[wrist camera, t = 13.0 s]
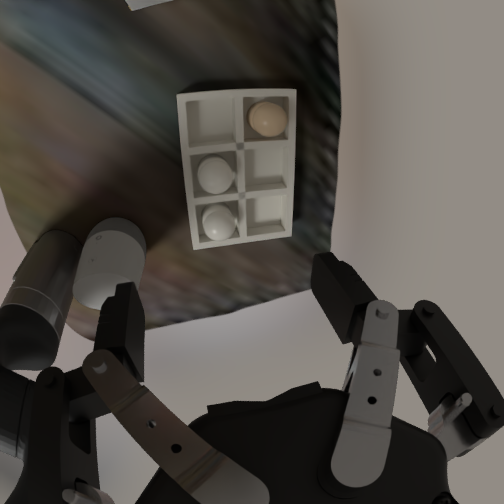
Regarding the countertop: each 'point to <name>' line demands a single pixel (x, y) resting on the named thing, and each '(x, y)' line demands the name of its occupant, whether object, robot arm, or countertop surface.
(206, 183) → the white egg middle
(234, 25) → the countertop surface
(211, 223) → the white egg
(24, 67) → the countertop surface
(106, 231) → the smart speaker
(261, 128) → the tan egg
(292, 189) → the egg carton
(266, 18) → the countertop surface
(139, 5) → the medicine bottle
